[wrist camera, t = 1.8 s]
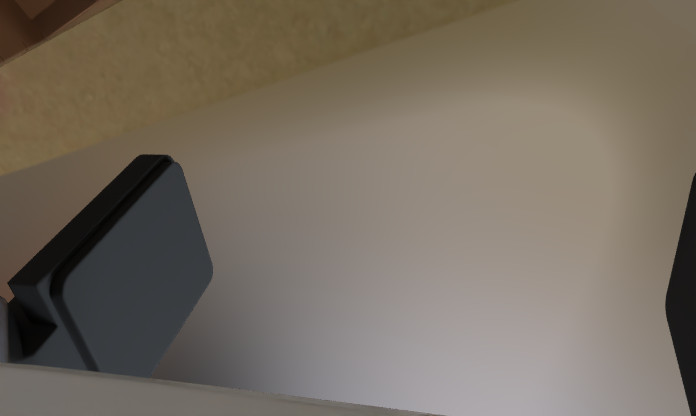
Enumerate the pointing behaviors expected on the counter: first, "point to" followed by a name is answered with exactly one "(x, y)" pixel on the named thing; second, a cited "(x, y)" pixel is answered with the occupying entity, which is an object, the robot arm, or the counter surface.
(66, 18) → the shelf
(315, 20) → the counter surface
